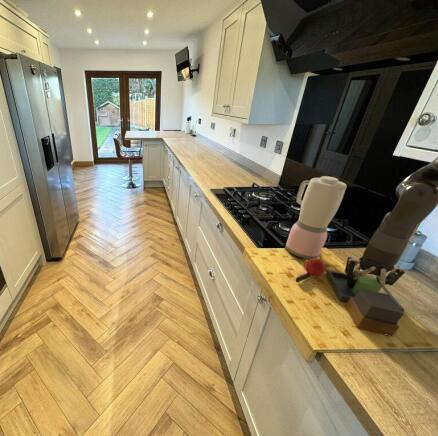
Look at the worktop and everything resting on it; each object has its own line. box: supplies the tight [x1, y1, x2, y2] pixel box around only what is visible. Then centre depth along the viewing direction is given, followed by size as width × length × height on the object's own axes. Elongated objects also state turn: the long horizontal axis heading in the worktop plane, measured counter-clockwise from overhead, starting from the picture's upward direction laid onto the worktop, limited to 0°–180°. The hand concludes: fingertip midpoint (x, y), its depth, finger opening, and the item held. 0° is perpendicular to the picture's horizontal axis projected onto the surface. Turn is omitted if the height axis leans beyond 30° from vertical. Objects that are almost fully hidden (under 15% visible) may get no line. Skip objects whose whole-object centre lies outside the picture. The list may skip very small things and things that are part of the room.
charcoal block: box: [354, 288, 405, 324], centre depth 65 cm, size 7×7×4 cm
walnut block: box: [345, 297, 401, 337], centre depth 66 cm, size 8×8×4 cm
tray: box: [325, 269, 405, 312], centre depth 77 cm, size 16×14×2 cm
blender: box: [284, 175, 348, 261], centre depth 92 cm, size 16×12×32 cm
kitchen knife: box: [295, 266, 327, 283], centre depth 84 cm, size 18×1×2 cm, turn 117°
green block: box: [347, 274, 383, 295], centre depth 76 cm, size 6×6×5 cm
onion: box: [304, 256, 326, 277], centre depth 83 cm, size 6×6×8 cm
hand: (361, 289), depth 77 cm, fingers closed on green block, 5 cm apart
